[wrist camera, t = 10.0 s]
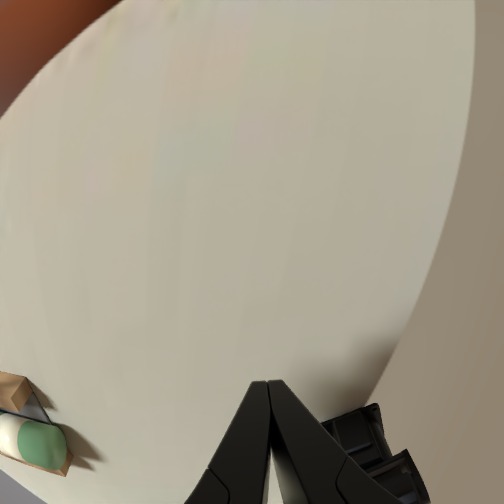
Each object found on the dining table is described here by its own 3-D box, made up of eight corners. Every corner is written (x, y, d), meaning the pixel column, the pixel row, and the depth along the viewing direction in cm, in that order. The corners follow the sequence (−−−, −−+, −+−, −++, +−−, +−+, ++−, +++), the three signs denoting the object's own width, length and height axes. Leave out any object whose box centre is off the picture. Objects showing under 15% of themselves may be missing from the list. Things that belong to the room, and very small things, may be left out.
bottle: (57, 479, 22) (-33, 443, 22) (71, 445, 28) (-17, 419, 27) (34, 451, 21) (-54, 415, 20) (52, 415, 26) (-35, 390, 25)
